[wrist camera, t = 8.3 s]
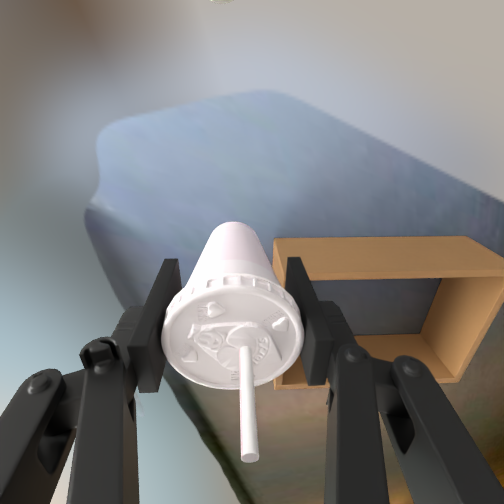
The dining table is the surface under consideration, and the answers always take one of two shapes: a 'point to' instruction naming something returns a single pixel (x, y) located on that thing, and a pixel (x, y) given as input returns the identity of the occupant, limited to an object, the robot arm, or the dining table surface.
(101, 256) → the dining table surface
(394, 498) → the dining table surface
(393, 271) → the wooden box
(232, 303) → the smoothie
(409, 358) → the robot arm
